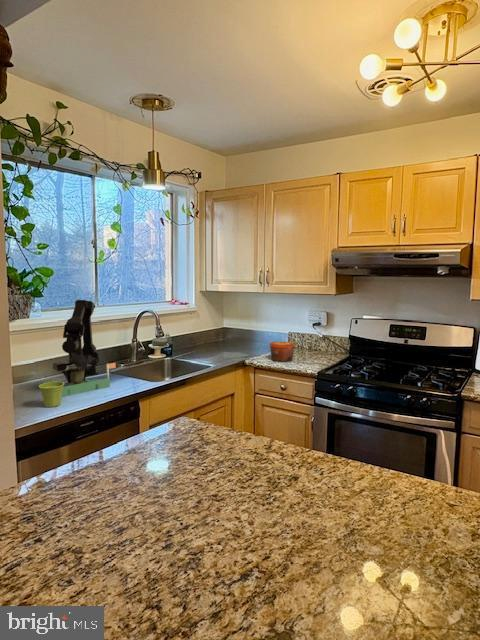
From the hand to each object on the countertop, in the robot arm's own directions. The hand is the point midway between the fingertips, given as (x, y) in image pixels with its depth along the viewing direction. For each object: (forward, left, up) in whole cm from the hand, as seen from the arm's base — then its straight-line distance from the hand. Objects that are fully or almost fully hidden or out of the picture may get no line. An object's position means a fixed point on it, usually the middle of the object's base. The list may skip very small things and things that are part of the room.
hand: (76, 382), depth 192 cm
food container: (+25, +119, -4) cm, 122 cm away
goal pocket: (+1, +2, -3) cm, 4 cm away
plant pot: (+16, -17, -4) cm, 24 cm away
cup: (0, 0, -2) cm, 2 cm away
